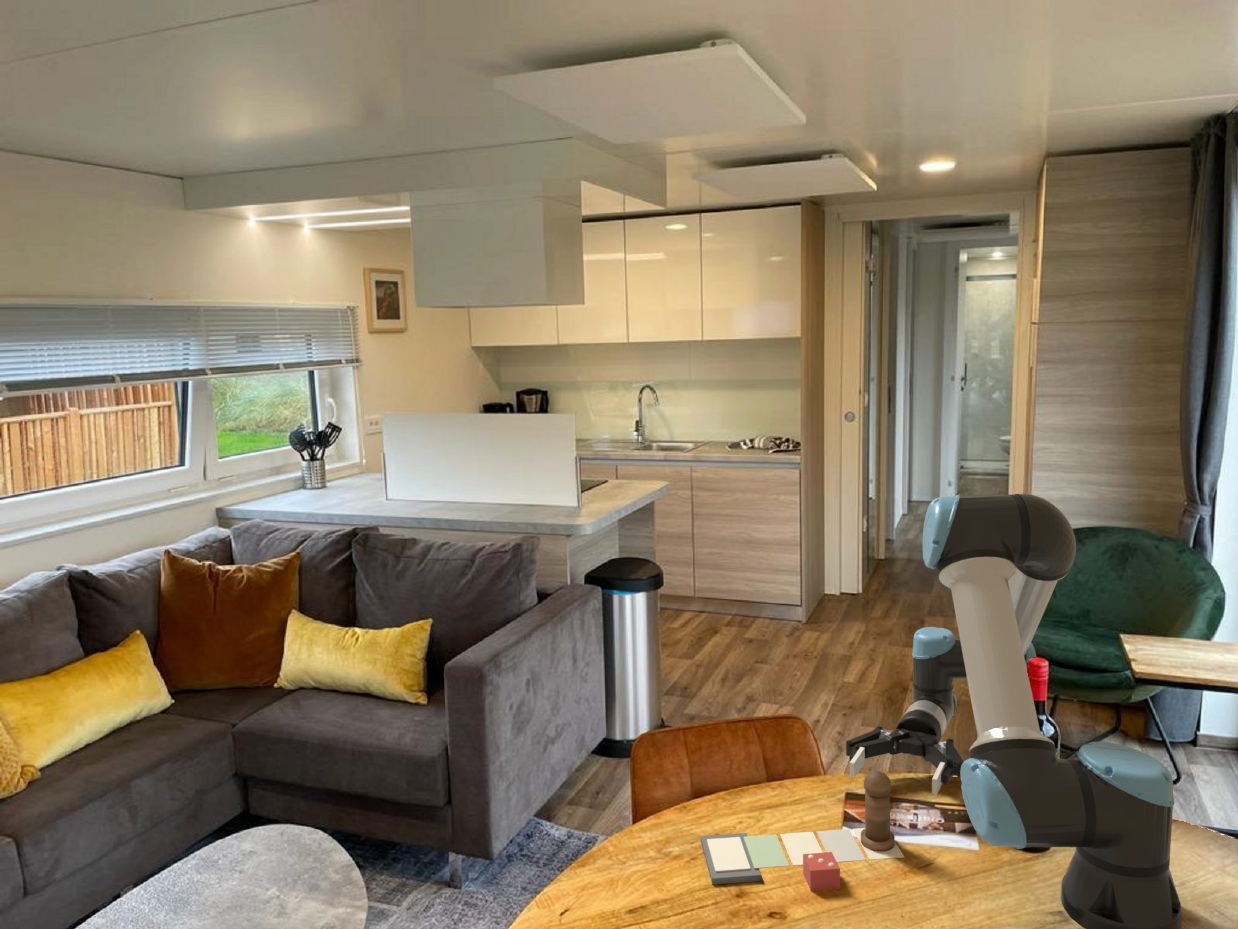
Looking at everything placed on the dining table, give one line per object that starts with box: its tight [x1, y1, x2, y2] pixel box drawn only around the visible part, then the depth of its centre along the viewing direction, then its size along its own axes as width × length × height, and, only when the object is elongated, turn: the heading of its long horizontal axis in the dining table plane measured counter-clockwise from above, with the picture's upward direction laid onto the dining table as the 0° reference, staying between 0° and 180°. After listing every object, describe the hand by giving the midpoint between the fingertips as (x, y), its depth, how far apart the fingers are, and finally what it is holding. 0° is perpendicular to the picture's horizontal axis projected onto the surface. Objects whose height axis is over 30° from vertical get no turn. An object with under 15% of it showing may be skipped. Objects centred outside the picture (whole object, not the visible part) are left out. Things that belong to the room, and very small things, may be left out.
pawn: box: [860, 770, 896, 852], centre depth 152 cm, size 5×5×12 cm
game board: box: [700, 827, 905, 886], centre depth 152 cm, size 12×31×1 cm, turn 93°
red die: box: [802, 851, 841, 892], centre depth 143 cm, size 4×4×5 cm
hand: (892, 778), depth 160 cm, fingers open, 13 cm apart
